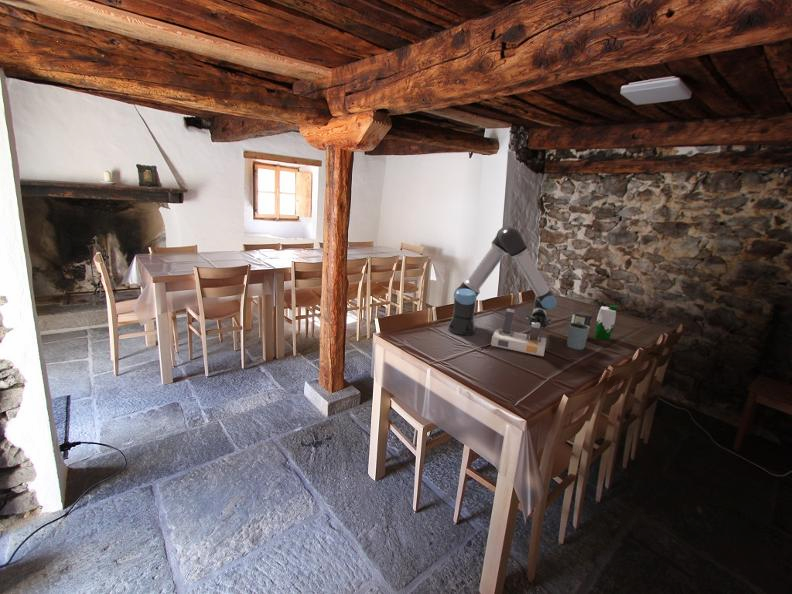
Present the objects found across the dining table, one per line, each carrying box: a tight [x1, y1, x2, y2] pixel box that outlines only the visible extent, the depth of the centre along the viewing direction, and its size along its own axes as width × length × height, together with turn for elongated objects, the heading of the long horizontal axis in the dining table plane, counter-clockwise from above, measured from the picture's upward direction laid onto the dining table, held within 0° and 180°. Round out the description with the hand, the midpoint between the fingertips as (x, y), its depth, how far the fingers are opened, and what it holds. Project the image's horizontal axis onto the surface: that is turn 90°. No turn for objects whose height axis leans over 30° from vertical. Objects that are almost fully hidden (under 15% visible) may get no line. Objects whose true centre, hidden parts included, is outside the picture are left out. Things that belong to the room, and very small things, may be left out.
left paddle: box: [502, 308, 515, 333], centre depth 204 cm, size 4×2×13 cm, turn 67°
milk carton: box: [594, 304, 618, 342], centre depth 222 cm, size 9×9×20 cm
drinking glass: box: [566, 322, 591, 351], centre depth 206 cm, size 10×10×12 cm
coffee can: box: [570, 310, 593, 339], centre depth 223 cm, size 10×10×14 cm
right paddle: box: [529, 322, 541, 341], centre depth 192 cm, size 4×2×13 cm
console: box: [490, 328, 547, 357], centre depth 201 cm, size 26×14×7 cm, turn 67°
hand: (537, 328), depth 193 cm, fingers closed
